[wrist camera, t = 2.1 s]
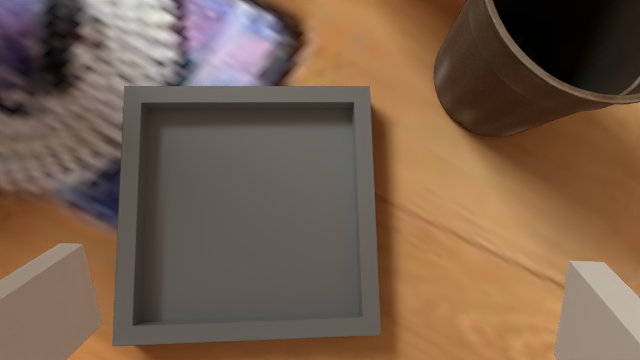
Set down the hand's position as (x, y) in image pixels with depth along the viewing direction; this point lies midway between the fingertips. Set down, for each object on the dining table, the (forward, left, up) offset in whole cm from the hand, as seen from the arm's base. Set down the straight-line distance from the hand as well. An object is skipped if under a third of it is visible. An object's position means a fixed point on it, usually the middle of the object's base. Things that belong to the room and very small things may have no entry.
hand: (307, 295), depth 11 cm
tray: (-4, +5, -28) cm, 28 cm away
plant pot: (+20, +18, -28) cm, 39 cm away
